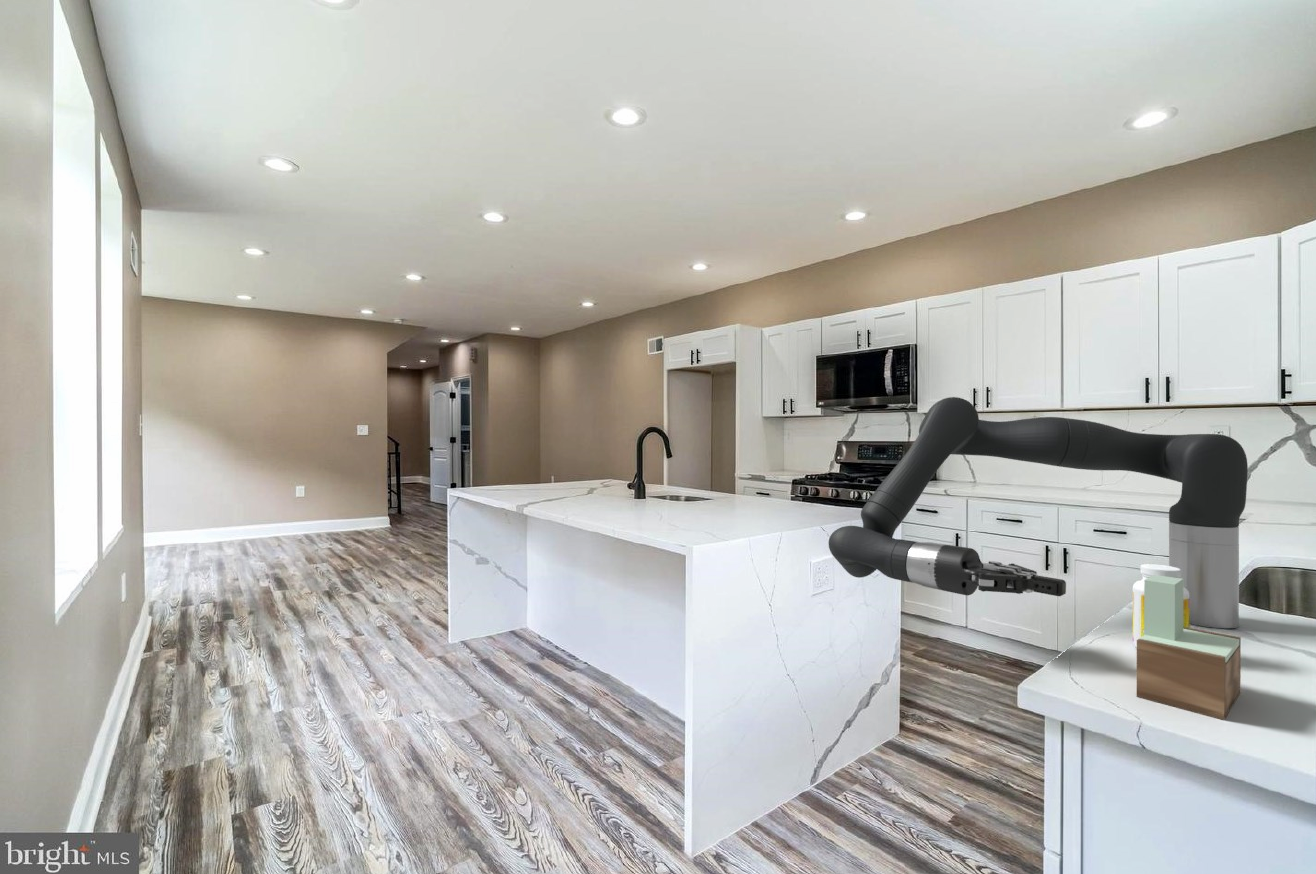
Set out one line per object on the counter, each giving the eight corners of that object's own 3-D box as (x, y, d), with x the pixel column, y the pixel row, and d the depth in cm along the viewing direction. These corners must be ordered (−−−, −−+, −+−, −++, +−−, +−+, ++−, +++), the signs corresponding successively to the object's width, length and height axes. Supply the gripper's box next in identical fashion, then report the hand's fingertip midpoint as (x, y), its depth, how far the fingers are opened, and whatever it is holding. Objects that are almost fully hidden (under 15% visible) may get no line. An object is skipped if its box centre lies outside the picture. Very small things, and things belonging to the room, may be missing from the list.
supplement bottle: (1200, 661, 87) (1201, 572, 87) (1148, 658, 88) (1148, 570, 88) (1171, 646, 94) (1171, 563, 94) (1123, 643, 95) (1123, 561, 95)
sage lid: (1157, 629, 82) (1158, 572, 82) (1239, 644, 75) (1239, 583, 75) (1139, 644, 76) (1139, 582, 76) (1226, 662, 69) (1226, 595, 69)
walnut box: (1159, 673, 82) (1159, 622, 82) (1240, 692, 76) (1240, 637, 76) (1136, 696, 75) (1136, 640, 75) (1224, 720, 69) (1224, 658, 69)
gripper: (923, 548, 95) (1048, 568, 82) (961, 540, 103) (1079, 557, 90) (922, 596, 95) (1047, 623, 82) (960, 584, 103) (1078, 607, 90)
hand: (1064, 588), depth 86 cm, fingers closed
